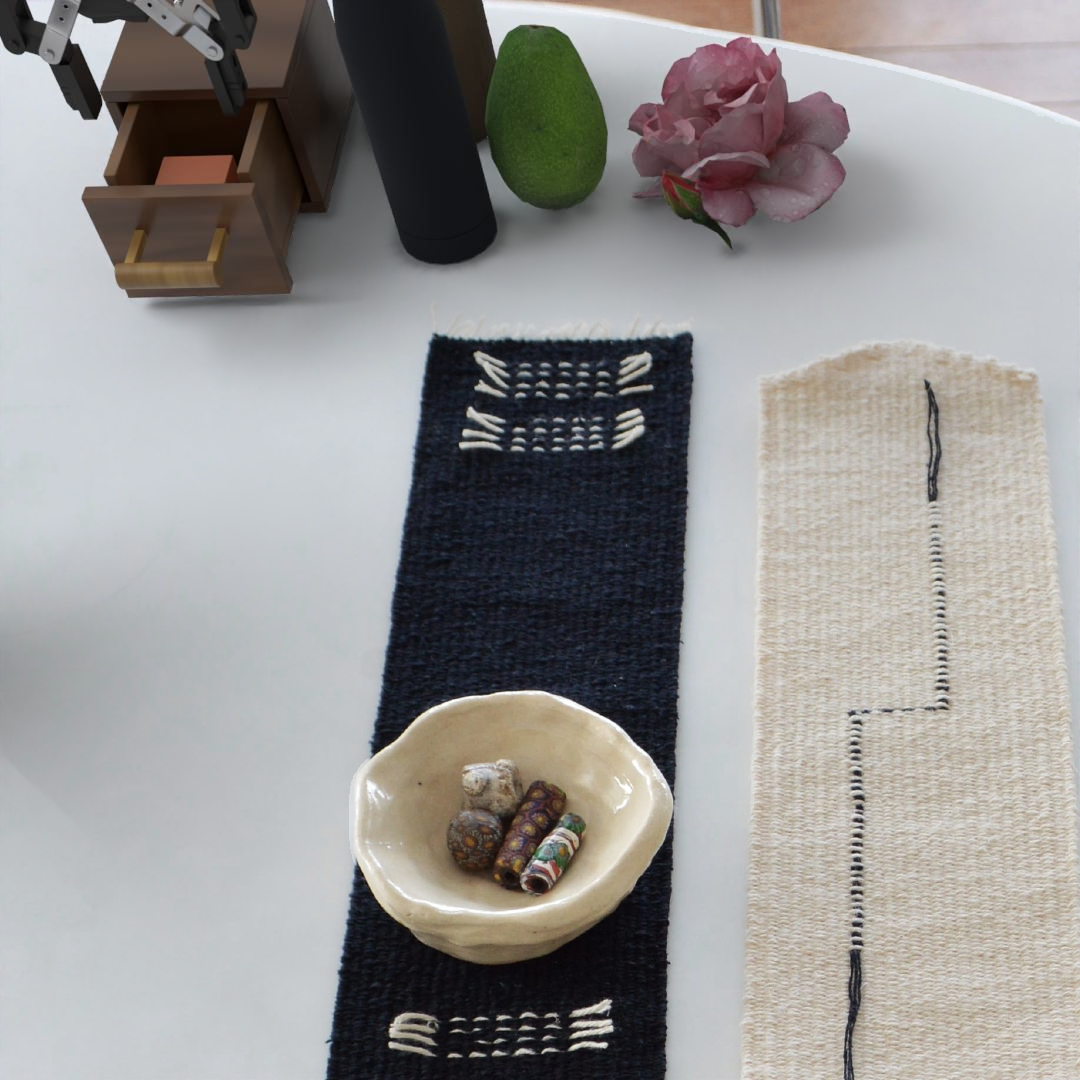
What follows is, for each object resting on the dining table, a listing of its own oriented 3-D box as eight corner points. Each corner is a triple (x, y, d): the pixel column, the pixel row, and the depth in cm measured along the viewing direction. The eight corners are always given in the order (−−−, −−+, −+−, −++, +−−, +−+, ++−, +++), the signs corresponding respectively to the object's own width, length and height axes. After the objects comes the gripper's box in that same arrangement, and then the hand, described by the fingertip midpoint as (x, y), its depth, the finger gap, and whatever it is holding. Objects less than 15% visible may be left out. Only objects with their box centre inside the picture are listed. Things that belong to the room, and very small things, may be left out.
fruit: (636, 214, 118) (605, 44, 108) (524, 247, 116) (482, 77, 106) (597, 149, 122) (564, -22, 112) (488, 180, 120) (444, 9, 110)
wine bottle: (493, 263, 116) (360, -235, 90) (395, 266, 115) (235, -231, 90) (502, 202, 119) (377, -295, 93) (407, 204, 119) (256, -292, 93)
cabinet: (327, 212, 118) (283, 86, 111) (155, 216, 118) (98, 90, 111) (356, 91, 126) (317, -35, 118) (193, 95, 125) (143, -31, 118)
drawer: (278, 344, 110) (238, 244, 104) (112, 348, 110) (61, 248, 104) (321, 173, 119) (286, 71, 113) (167, 176, 119) (124, 75, 113)
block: (176, 260, 113) (149, 199, 109) (189, 216, 115) (163, 156, 111) (244, 258, 113) (220, 198, 109) (256, 215, 115) (232, 154, 111)
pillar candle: (536, 109, 124) (488, -110, 112) (429, 174, 121) (367, -45, 108) (446, 56, 128) (390, -162, 115) (340, 118, 124) (269, -101, 111)
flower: (860, 92, 120) (809, -34, 111) (863, 254, 114) (808, 136, 106) (661, 147, 124) (597, 31, 115) (654, 308, 118) (585, 197, 109)
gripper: (196, -212, 95) (291, 71, 109) (-69, -207, 95) (60, 76, 109) (168, -138, 91) (271, 146, 105) (-108, -133, 91) (31, 151, 105)
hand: (164, 110), depth 107 cm, fingers open, 8 cm apart
